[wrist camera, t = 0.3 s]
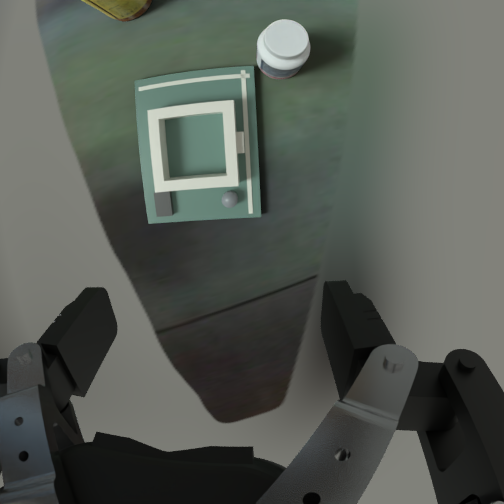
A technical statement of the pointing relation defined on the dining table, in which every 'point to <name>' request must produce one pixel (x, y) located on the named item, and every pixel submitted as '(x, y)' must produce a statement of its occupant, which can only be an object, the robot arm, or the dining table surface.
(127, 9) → the sauce bottle
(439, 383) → the robot arm
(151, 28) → the dining table surface
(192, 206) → the board
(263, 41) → the pill bottle
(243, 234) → the dining table surface
